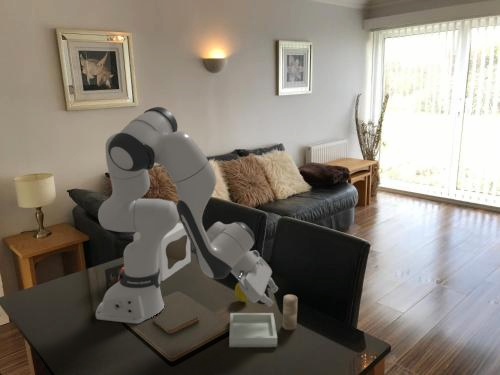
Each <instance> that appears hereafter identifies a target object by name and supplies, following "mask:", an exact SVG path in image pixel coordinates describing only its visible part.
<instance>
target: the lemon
mask: <svg viewBox="0 0 500 375" xmlns="http://www.w3.org/2000/svg"><path fill="white" fill-rule="evenodd" d="M234 295H235V296H234V297H235V298H236V300H238V302H241V303H244V302H246V301H247V300H249V299H248V297H247V296H246V295H245V294H244V292H243V291H242V290H241V288H240V286H239V282H237V283H236V285H235V289H234Z"/></svg>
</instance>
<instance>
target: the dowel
mask: <svg viewBox="0 0 500 375" xmlns="http://www.w3.org/2000/svg"><path fill="white" fill-rule="evenodd" d="M298 300H299V298H298V297H297V296H296V295H294V294H286V295H284V296H283V302H282V303H283V304H282V305H283V306H282V328H283V329H284V330H286V331H294V330H296V329H297V324H298V323H297V321H298V320H297V319H298V318H297V317H298Z"/></svg>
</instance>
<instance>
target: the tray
mask: <svg viewBox="0 0 500 375" xmlns="http://www.w3.org/2000/svg"><path fill="white" fill-rule="evenodd" d="M274 315H275V314H274V313H273V312H268V313H267V312H230V317H229V337H228V338H229V339H228V340H229V341H228V342H229V344H228V345H229V348H277V347H278V334H277V328H276V322H275V316H274Z"/></svg>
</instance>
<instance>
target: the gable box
mask: <svg viewBox="0 0 500 375" xmlns="http://www.w3.org/2000/svg"><path fill="white" fill-rule="evenodd" d="M170 201H171V202H173V203H174V201H173V200H170ZM174 204H175V205H176V206H177V203H174ZM140 238H141V235H140V233H139V232H134V233H133V242H134V241H136V240H138V239H140ZM191 257H192V256H191V242H190V240H189V238H188V235H187V233H186V231H185V229H184V227H183V224H182V222H181V220H180V217H179V219H178V223H177V225H176V226H175V228H174V229H173V230H171V231H170V232H169V233H167V234H166V235H165V237H164V238H163V239H162V241H161V243H160V246H159V252H158V267H159V269H160V278H161V282H164V281H165V280H167V279H168V278H169V277H171V276H172V275H174V274H175V273H176V272H179V270H181V269H182V268H184V267H185V266H186V265H188V264H190V263H191V261H192V260H191V259H192V258H191Z"/></svg>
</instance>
